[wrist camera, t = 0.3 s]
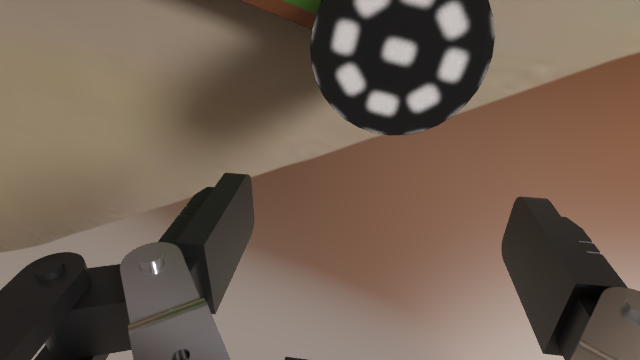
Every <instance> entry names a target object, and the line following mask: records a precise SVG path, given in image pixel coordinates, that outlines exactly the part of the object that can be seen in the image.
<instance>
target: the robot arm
mask: <svg viewBox="0 0 640 360" xmlns="http://www.w3.org/2000/svg"><path fill="white" fill-rule="evenodd" d="M253 226H254V208H253V196H252V184H251V178H250V176H249V175H247V174H234V173H225V174H224V175H223V176H222V177H221V179H220V180H219V182H218V183H217V184H216V186H215V187H206V188H205V189H203V190H202V191H200V192H198V193H197V194H195V195H194V196H193V197H192V199H191V200H190V201H189V203H188V204H187V207H185V208H184V209H183V210H182V212H181V213H180V215H178V217H177V218H176V219H175V221H174V222H173V223H172V224H171V226H170V227H169V228H168V230H167V231H166V232H165V234H164V235H163V236H162V237H161V239H160V240H159V241H158V242H155V243H149V244H146V245H143V246H140V247H138V248H136V249H134V250H132V251H131V252H130V253H128V254H127V255H126V256H125V257H124V259H123V260H122V262H121V264H118V265H111V266H102V267H95V268H87V266H86V263H85V261H84V259H83V257H82V256H81V255H78V254H76V253H71V252H64V253H56V254H52V255H48V256H45V257H43V258H40V259H38V260H36V261H34V262H32V263H31V264H29V265H28V266H26V267H25V268H24V269H23V270H21V271H20V272H19V273H18V274H17V275H16V276H15V277H14V278H13V279H12V280H11V281H10V282H9V283H8V284H7V285H6V286H4V287H3V288H2V290H0V360H31V359H32V358H33V356H34V355H35V354H36V353H37V351H38V350H39V349H40V348H41V346H42V345H43V344H44V343H45V344H46V345H45V347H44V348H43V349H42V350H41V352H40V353H39V354H38V356H37V357H36V358H35V359H34V360H106V358H107V356H108V355H109V353H115V352H121V351H126V350H132V354H133V360H230V357H229V355H228V352H227V350H226V348H225V345H224V343H223V341H222V338H221V336H220V333H219V331H218V329H217V326H216V324H215V322H214V319H213V317H212V314H216V311H217V309H218V307H219V305H220V303H221V300H222V298H223V296H224V294H225V292H226V289H227V287H228V285H229V283H230V281H231V278H232V276H233V274H234V272H235V270H236V268H237V265H238V263H239V261H240V259H241V256H242V254H243V252H244V250H245V248H246V245H247V243H248V241H249V239H250V236H251V234H252V231H253ZM502 257H503V260H504V263H505V265H506V267H507V270H508V272H509V274H510V277H511V279H512V281H513V284H514V286H515V289H516V291H517V293H518V295H519V298H520V300H521V303H522V305H523V307H524V310H525V312H526V315H527V317H528V319H529V322H530V324H531V326H532V328H533V331H534V333H535V336H536V338H537V340H538V343H539V345H540V347H541V350H542V352H543V354H551V355H561V356H563V357H564V359H565V360H640V291H637V290H634V289H630V288H627V286H626V285H625V284H624V282H623V281H622V280H621V278H620V277H619V276H618V275H617V273H616V272H615V271H614V270H613V268H612V267H611V265H610V264H609V263H608V262H607V260H606V259H605V258H604V256H603V255H601V254H600V251H599V250H598V249H597V247H596V246H595V245H594V244H592V241H591V239H590V238H589V237H588V236H587V234H586V233H585V232H584V231H583V229H582V228H580V227H579V226H578V225H576V224H575V223H574V222H572V221H571V220H569V219H568V218H567V217H561V216H560V215H559V213H558V212H557V210H556V209H555V208H554V206H553V205H552V203H551V202H550V201H549V200H548V199H545V198H532V197H518V198H517V199H516V200H515V202H514V205H513V208H512V211H511V214H510V217H509V221H508V224H507V227H506V230H505V233H504V236H503V240H502ZM285 360H306V359H297V358H290V357H285Z"/></svg>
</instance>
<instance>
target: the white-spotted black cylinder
mask: <svg viewBox="0 0 640 360" xmlns="http://www.w3.org/2000/svg"><path fill="white" fill-rule="evenodd" d="M494 39H495V35H494V19H493V15H492V12H491V8H490V4H489V1H488V0H323V2H322V4H321V6H320V8H319V10H318V12H317V15H316V18H315V22H314V25H313V28H312V36H311V45H310V50H311V63H312V68H313V71H314V75H315V79H316V82H317V84H318V86H319V88H320V90H321V92H322V94H323V96H324V97H325V99H326V100H327V101H328V103H329V104H330V105H331V107H332V108H333V109H334V110H335V111H336V112H337V113H339V114H340V115H341V116H342V117H343V118H344V119H345V120H347V121H349V122H350V123H352V124H354V125H355V126H357V127H359V128H362V129H364V130H367V131H370V132H373V133H378V134H384V135H407V134H413V133H418V132H422V131H425V130H427V129H430V128H432V127H435V126H437V125H439V124H440V123H442V122H444V121H446V120H447V119H449V118H451V117H452V116H453V115H455V114H456V113H457V112H458V111H459V110H460V109H461V108H463V107H464V106H465V105H466V104H467V103H468V101H469V100H470V99H471V98H472V96H473V95H474V94H475V93H476V91H477V90H478V88H479V86H480V85H481V83H482V81H483V79H484V77H485V76H486V73H487V70H488V67H489V64H490V61H491V58H492V54H493V46H494Z"/></svg>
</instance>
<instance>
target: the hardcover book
mask: <svg viewBox="0 0 640 360" xmlns="http://www.w3.org/2000/svg"><path fill="white" fill-rule="evenodd" d="M241 1H244V2H246V3H249V4H251V5H254V6H256V7H258V8H261V9H263V10H266V11H268V12H271V13H273V14H276V15H278V16H280V17H283V18H285V19H288V20H290V21H293V22H295V23H298V24H300V25H302V26H305V27H307V28H310V29H312V28H313V25H314V22H315V18H316V15H317V12H318V10H319V8H320V6H321V4H322V2H323V0H241Z"/></svg>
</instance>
